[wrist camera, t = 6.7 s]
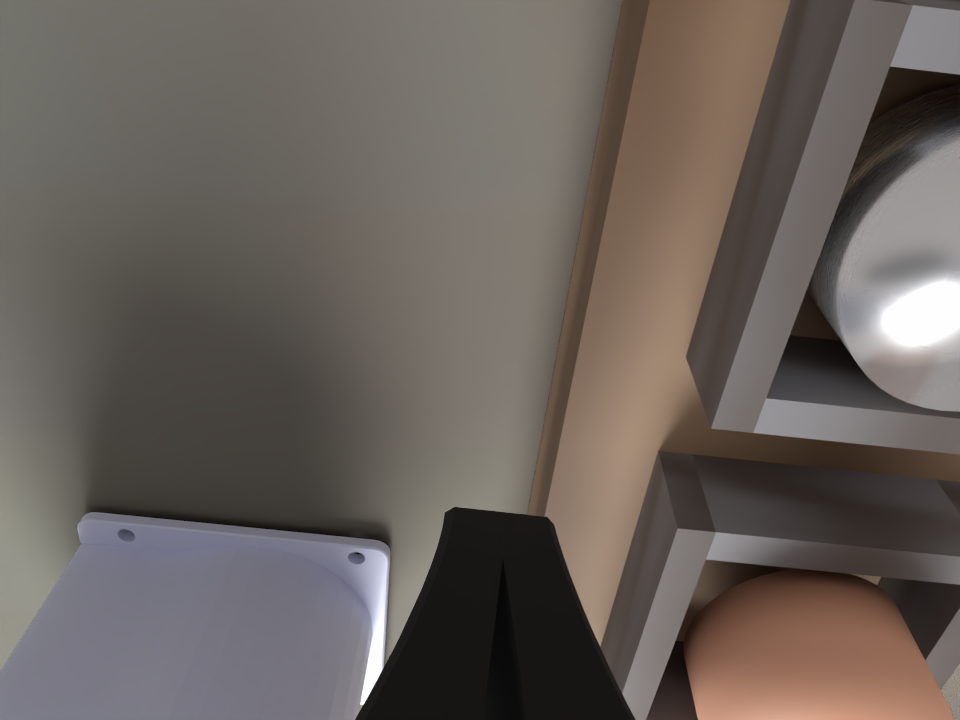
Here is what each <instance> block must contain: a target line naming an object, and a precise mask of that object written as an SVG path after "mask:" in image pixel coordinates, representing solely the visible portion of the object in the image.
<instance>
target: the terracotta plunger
mask: <svg viewBox="0 0 960 720" xmlns="http://www.w3.org/2000/svg"><path fill="white" fill-rule="evenodd" d="M683 650H684V658H685V663H686V667H687V672H688V676H689V681H690V686H691V690H692V695H693V699H694V704H695V708H696V713H697V718H698V720H953V715H952V712H951V709H950V707H949V705H948V703H947V701H946V699H945V698H944V696H943V694H942V692H941V690H940V688H939V686H938V684H937V682H936V680H935V678H934V676H933V675H932V673H931V671H930V669H929V667H928V665H927V663H926V661H925V659H924V657H923V655H922V653H921V651H920V650H919V648H918V646H917V644H916V642H915V640H914V638H913V636H912V634H911V632H910V630H909V628H908V626H907V625H906V623H905V621H904V619H903V617H902V615H901V613H900V611H899V609H898V607H897V606H896V604H895V603H894V601H893V599H892V598H891V597H890V596H889V595H888V594H887V593H886V592H885V591H884V590H882V589H881V588H880V587H878V586H877V585H875V584H873V583H872V582H870V581H868V580H866V579H863V578H861V577H858V576H855V575H852V574H847V573H837V572H827V571H817V570H807V569H795V570H787V571H780V572H776V573H771V574H766V575H763V576H760V577H756V578H753V579H750V580H748V581H745V582H743V583H740V584H738V585H736V586H734V587H732V588H730V589H728V590H726V591H725V592H723V593H722V594H720V595H719V596H717V597H716V598H714V599H713V600H712V601H711V602H709V603H708V604H707V605H706V606H705V607H704V608H703V609H702V610H701V611H700V612H699V613H698V614H697V615H696V617H695V618H694V620H693V621H692V622H691V624H690V626H689V628H688V630H687V632H686V636H685V640H684V649H683Z"/></svg>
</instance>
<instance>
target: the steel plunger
mask: <svg viewBox="0 0 960 720" xmlns="http://www.w3.org/2000/svg"><path fill="white" fill-rule="evenodd" d="M807 291H808V292H809V294H810V296H811V298H812V299H813V301H814V302H815V303H816V305H817V306H818V308H819V309H820V311H821V312H822V313H823V315H824V316H825V318H826V319H827V321H828V322H829V324H830V325H831V326H832V328H833V329H834V331H835V332H836V334H837V335H838V337H839V338H840V339H841V341H842V342H843V344H844V345H845V347H846V348H847V349H848V351H849V352H850V354H851V355H852V357H853V358H854V360H855V361H856V362H857V364H858V365H859V367H860V368H861V369H862V370H863V372H864V373H865V374H866V375H867V377H868V378H869V379H870V380H872V381H873V382H874V383H875V384H876V385H877V386H878V387H879V388H881V389H882V390H884V391H886V392H887V393H889V394H890V395H892V396H894V397H896V398H898V399H900V400H902V401H905V402H907V403H910V404H913V405H917V406H920V407H923V408H929V409H935V410H941V411H959V412H960V85H955V86H950V87H946V88H941V89H937V90H934V91H931V92H928V93H925V94H922V95H919V96H916V97H914V98H912V99H910V100H907V101H905V102H903V103H901V104H898V105H897V106H895V107H893V108H891V109H890V110H888V111H886V112H885V113H883V114H881V115H880V116H878V117H877V118H875V119H874V120H873V121H871V122H870V123H869V124H868V127H867V130H866V132H865V135H864V138H863V140H862V143H861V146H860V148H859V151H858V154H857V156H856V159H855V162H854V164H853V167H852V170H851V172H850V175H849V178H848V180H847V183H846V186H845V188H844V191H843V194H842V197H841V199H840V202H839V205H838V207H837V210H836V213H835V215H834V218H833V221H832V223H831V226H830V229H829V231H828V234H827V237H826V239H825V242H824V245H823V247H822V250H821V253H820V255H819V258H818V261H817V263H816V266H815V269H814V271H813V274H812V277H811V279H810V282H809V285H808V288H807Z"/></svg>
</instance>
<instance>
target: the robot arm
mask: <svg viewBox="0 0 960 720" xmlns="http://www.w3.org/2000/svg"><path fill="white" fill-rule="evenodd" d="M77 530H78V534H79V538H80V542H81V545H80V546H79V548H78V549H77V551H76V553H75V554H74V556H73V557H72V559H71V561H70V562H69V564H68V565H67V567H66V568H65V570H64V572H63V573H62V575H61V576H60V578H59V579H58V581H57V583H56V584H55V586H54V587H53V589H52V591H51V592H50V594H49V595H48V597H47V598H46V600H45V602H44V603H43V605H42V606H41V608H40V609H39V611H38V613H37V614H36V616H35V617H34V619H33V620H32V622H31V624H30V625H29V627H28V628H27V630H26V632H25V633H24V635H23V636H22V638H21V639H20V641H19V643H18V644H17V646H16V647H15V649H14V650H13V652H12V654H11V655H10V657H9V658H8V660H7V661H6V663H5V665H4V666H3V668H2V669H1V671H0V720H636V719H635V718H634V716H633V714H632V712H631V710H630V708H629V706H628V704H627V702H626V700H625V698H624V696H623V694H622V692H621V690H620V688H619V686H618V684H617V682H616V680H615V678H614V676H613V674H612V672H611V669H610V667H609V665H608V663H607V661H606V659H605V656H604V654H603V652H602V650H601V648H600V645H599V643H598V641H597V639H596V637H595V634H594V632H593V630H592V628H591V625H590V623H589V621H588V618H587V616H586V614H585V611H584V609H583V606H582V604H581V601H580V599H579V596H578V594H577V591H576V589H575V586H574V584H573V581H572V578H571V576H570V573H569V570H568V567H567V564H566V562H565V559H564V556H563V553H562V550H561V546H560V543H559V540H558V537H557V533H556V529H555V526H554V524H553V523H552V522H551V520H550V519H549V518H548V517H542V516H533V515H524V514H514V513H505V512H496V511H487V510H477V509H468V508H459V507H454V508H452V509H450V510H449V511H447V512H445V516H444V523H443V528H442V532H441V536H440V540H439V543H438V547H437V550H436V553H435V556H434V559H433V561H432V564H431V567H430V570H429V572H428V575H427V577H426V580H425V582H424V585H423V587H422V590H421V592H420V594H419V597H418V599H417V601H416V603H415V605H414V607H413V610H412V612H411V614H410V616H409V618H408V620H407V623H406V625H405V627H404V629H403V631H402V633H401V636H400V638H399V640H398V642H397V644H396V646H395V648H394V650H393V652H392V653H391V655H390V657H389V659H388V661H387V663H386V664H385V666H384V658H385V641H386V624H387V607H388V589H389V572H390V555H391V552H390V548H389V547H388V546H387V545H386V544H385V543H383V542H381V541H378V540H372V539H361V538H351V537H341V536H331V535H321V534H311V533H301V532H291V531H281V530H271V529H261V528H251V527H240V526H230V525H220V524H210V523H200V522H190V521H180V520H170V519H160V518H150V517H140V516H129V515H119V514H109V513H99V512H90V513H87V514H85V515H84V516H83V518H82V519H81V521H80V522H79V524H78V525H77ZM128 530H130V531H131V532H130V531H128ZM353 552H358V553H361V555H358V554H354V553H353ZM360 704H363V707H362V708H361V710H360V712H359V708H360Z"/></svg>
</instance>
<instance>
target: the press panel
mask: <svg viewBox="0 0 960 720" xmlns="http://www.w3.org/2000/svg"><path fill="white" fill-rule="evenodd" d="M955 85H960V0H623V3H622V8H621V13H620V19H619V24H618V29H617V35H616V40H615V45H614V51H613V56H612V62H611V67H610V72H609V78H608V83H607V88H606V94H605V99H604V104H603V110H602V115H601V120H600V126H599V131H598V137H597V142H596V147H595V153H594V158H593V163H592V169H591V174H590V179H589V185H588V190H587V195H586V201H585V206H584V212H583V217H582V222H581V228H580V233H579V238H578V244H577V249H576V254H575V260H574V265H573V271H572V276H571V281H570V287H569V292H568V297H567V303H566V308H565V313H564V319H563V324H562V329H561V335H560V340H559V346H558V351H557V356H556V362H555V367H554V372H553V378H552V383H551V388H550V394H549V399H548V404H547V410H546V415H545V421H544V426H543V431H542V437H541V442H540V447H539V453H538V458H537V463H536V469H535V474H534V479H533V485H532V490H531V496H530V501H529V506H528V512H527V515H533V516H542V517H548V518H549V519H550V520H551V522H552V523H553V524H554V526H555V529H556V533H557V537H558V540H559V543H560V546H561V550H562V553H563V556H564V559H565V562H566V564H567V567H568V570H569V573H570V576H571V578H572V581H573V584H574V586H575V589H576V591H577V594H578V596H579V599H580V601H581V604H582V606H583V609H584V611H585V614H586V616H587V618H588V621H589V623H590V625H591V628H592V630H593V632H594V634H595V637H596V639H597V641H598V643H599V645H600V648H601V650H602V652H603V654H604V656H605V659H606V661H607V663H608V665H609V667H610V669H611V672H612V674H613V676H614V678H615V680H616V682H617V684H618V686H619V688H620V690H621V692H622V694H623V696H624V698H625V700H626V702H627V704H628V706H629V708H630V710H631V712H632V714H633V716H634V718H635V719H636V720H698V718H697V713H696V708H695V704H694V699H693V695H692V690H691V686H690V681H689V676H688V672H687V667H686V663H685V658H684V650H683V649H684V640H685V636H686V632H687V630H688V628H689V626H690V624H691V622H692V621H693V620H694V618H695V617H696V615H697V614H698V613H699V612H700V611H701V610H702V609H703V608H704V607H705V606H706V605H707V604H708V603H709V602H711V601H712V600H713V599H714V598H716V597H717V596H719V595H720V594H722V593H723V592H725V591H726V590H728V589H730V588H732V587H734V586H736V585H738V584H740V583H743V582H745V581H748V580H750V579H753V578H756V577H760V576H763V575H766V574H771V573H776V572H780V571H787V570H795V569H807V570H817V571H827V572H837V573H847V574H852V575H855V576H858V577H861V578H863V579H866V580H868V581H870V582H872V583H873V584H875V585H877V586H878V587H880V588H881V589H882V590H884V591H885V592H886V593H887V594H888V595H889V596H890V597H891V598H892V599H893V601H894V603H895V604H896V606H897V607H898V609H899V611H900V613H901V615H902V617H903V619H904V621H905V623H906V625H907V626H908V628H909V630H910V632H911V634H912V636H913V638H914V640H915V642H916V644H917V646H918V648H919V650H920V651H921V653H922V655H923V657H924V659H925V661H926V663H927V665H928V667H929V669H930V671H931V673H932V675H933V676H934V678H935V680H936V682H937V684H938V686H939V688H940V690H941V689H942V688H943V686H944V685H945V683H946V682H947V681H948V679H949V678H950V676H951V675H952V673H953V672H954V670H955V669H956V668H957V666H958V665H959V663H960V412H959V411H941V410H935V409H929V408H923V407H920V406H917V405H913V404H910V403H907V402H905V401H902V400H900V399H898V398H896V397H894V396H892V395H890V394H889V393H887V392H886V391H884V390H882V389H881V388H879V387H878V386H877V385H876V384H875V383H874V382H873V381H872V380H870V379H869V378H868V377H867V375H866V374H865V373H864V372H863V370H862V369H861V368H860V367H859V365H858V364H857V362H856V361H855V360H854V358H853V357H852V355H851V354H850V352H849V351H848V349H847V348H846V347H845V345H844V344H843V342H842V341H841V339H840V338H839V337H838V335H837V334H836V332H835V331H834V329H833V328H832V326H831V325H830V324H829V322H828V321H827V319H826V318H825V316H824V315H823V313H822V312H821V311H820V309H819V308H818V306H817V305H816V303H815V302H814V301H813V299H812V298H811V296H810V294H809V292H808V291H807V288H808V285H809V282H810V279H811V277H812V274H813V271H814V269H815V266H816V263H817V261H818V258H819V255H820V253H821V250H822V247H823V245H824V242H825V239H826V237H827V234H828V231H829V229H830V226H831V223H832V221H833V218H834V215H835V213H836V210H837V207H838V205H839V202H840V199H841V197H842V194H843V191H844V188H845V186H846V183H847V180H848V178H849V175H850V172H851V170H852V167H853V164H854V162H855V159H856V156H857V154H858V151H859V148H860V146H861V143H862V140H863V138H864V135H865V132H866V130H867V127H868V124H869V123H870V122H871V121H873V120H874V119H875V118H877V117H878V116H880V115H881V114H883V113H885V112H886V111H888V110H890V109H891V108H893V107H895V106H897V105H898V104H901V103H903V102H905V101H907V100H910V99H912V98H914V97H916V96H919V95H922V94H925V93H928V92H931V91H934V90H937V89H941V88H946V87H950V86H955Z"/></svg>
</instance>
